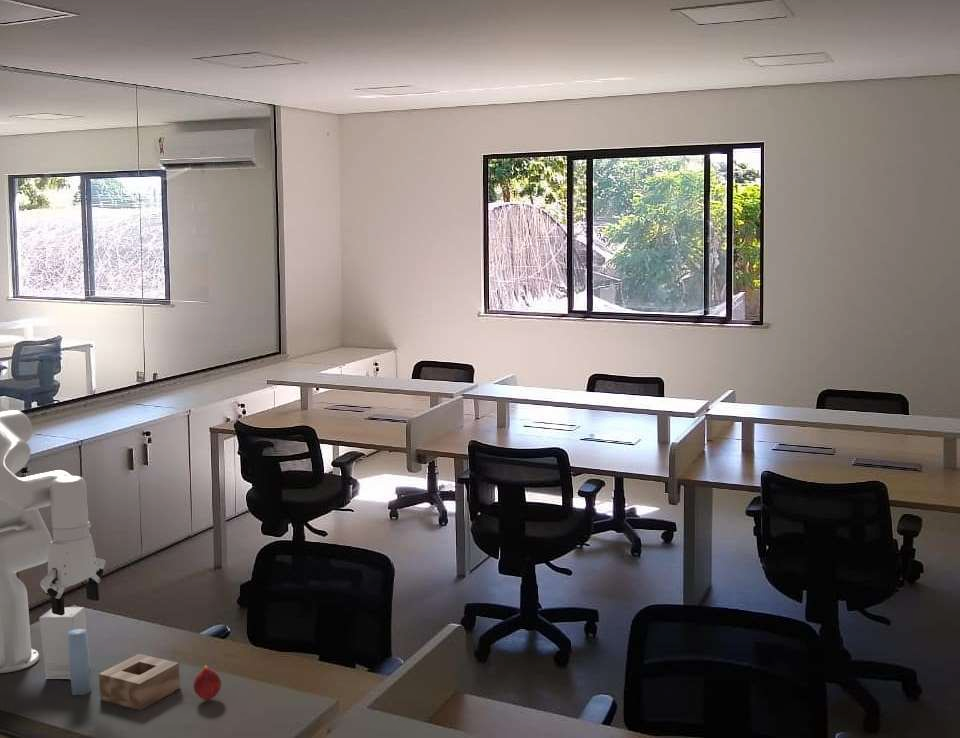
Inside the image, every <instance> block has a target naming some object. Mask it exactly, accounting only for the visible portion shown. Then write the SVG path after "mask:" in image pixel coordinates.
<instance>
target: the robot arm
mask: <svg viewBox="0 0 960 738" xmlns="http://www.w3.org/2000/svg"><path fill="white" fill-rule="evenodd" d="M32 434H33V426H32V422H31V420H30V418H29V417H28V415H27V414H25V413H24V412H22V411H20V410H17V409H16V410H14V409H10V410H4V411H3V410H2V411H0V533H1V534H0V674H4V673H11V672H12V673H13V672H17V671H21V670H24V669H26V668H28V667H31V666H32V665H34V664H36V663H37V662H38V661H39V658H40V653H39V652H38V650H36V649H35V648H34V649H33V648H32V641H31V640H32V638H31V626H30V613H29V601H28V600H29V599H28V590H27V587H26V584H25V583H24V582H23V581H22V580H21V579H20V578H18V576H17V575H16V574H17V573H18V572H22V571H24V570H26V569H31V568H34V567H37V566H40V565H42V564H46V563H47V574H46V576H44V577H43V578H42V579H41V581H40V582H39V585H40V587H41V589H42V590H43V593H44V594H46V595H47V596H48V597H49V598H50V602H51V604H50V605H51V608H52V613H53V614H57V615H61V616H62V615H64V614H65V610H64V607H65V599H64V596H62V595H63V593H64V591H65V589H66V588H68V587H71V586H73V585H77V584H79V583H82V582H83V581H86V580H87V581H86V582H85V583H86V584H85V591H86V599H87V600H90V601H95V602H98V601H99V600H100V592H99V583H100V582H101V577H102V575H103V574H104V569H105V566H106V562H107V561H106V559H104V558H100V557H96V555H97V554H96V549H95V544H94V540H93V537H92V534H91V533H90V528H91V527H92V523H91V521H89V511H88V508H89V507H88V492H87V483H86V479H84V478H83V477H82V476H79V475H72V474H71V473H69V472H68V471H66V470H62V469H57V470H51V471H50V470H49V471H45V472H41V473H35V474H31V475H27V476H26V475H25V476H22V477H19V476H17V475H16V474H17V473H18V472H19V471H21V470H22V469H23V468H24V467H25V465H27V463H28V462H29V459H30V457H31V448H30V445H29V444H28V443H27V442H28V441H29V440H30V439H31V437H32ZM49 506H50V514H51V516H50V517H51V528H52V536H51V533H50V531H49V529H48V526H47V525H46V522H45V521H44V519H43V517H42V515H41V513H40V511H39V509H42V508H45V507H49ZM10 530H15V531H10ZM6 531H9V532H6ZM2 532H6V533H2Z"/></svg>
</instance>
